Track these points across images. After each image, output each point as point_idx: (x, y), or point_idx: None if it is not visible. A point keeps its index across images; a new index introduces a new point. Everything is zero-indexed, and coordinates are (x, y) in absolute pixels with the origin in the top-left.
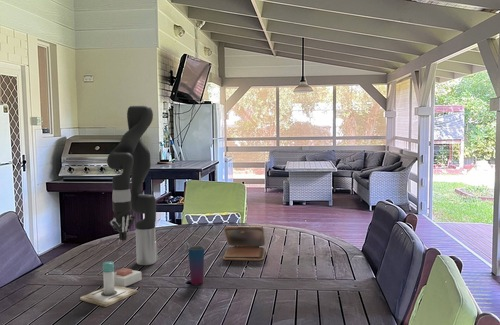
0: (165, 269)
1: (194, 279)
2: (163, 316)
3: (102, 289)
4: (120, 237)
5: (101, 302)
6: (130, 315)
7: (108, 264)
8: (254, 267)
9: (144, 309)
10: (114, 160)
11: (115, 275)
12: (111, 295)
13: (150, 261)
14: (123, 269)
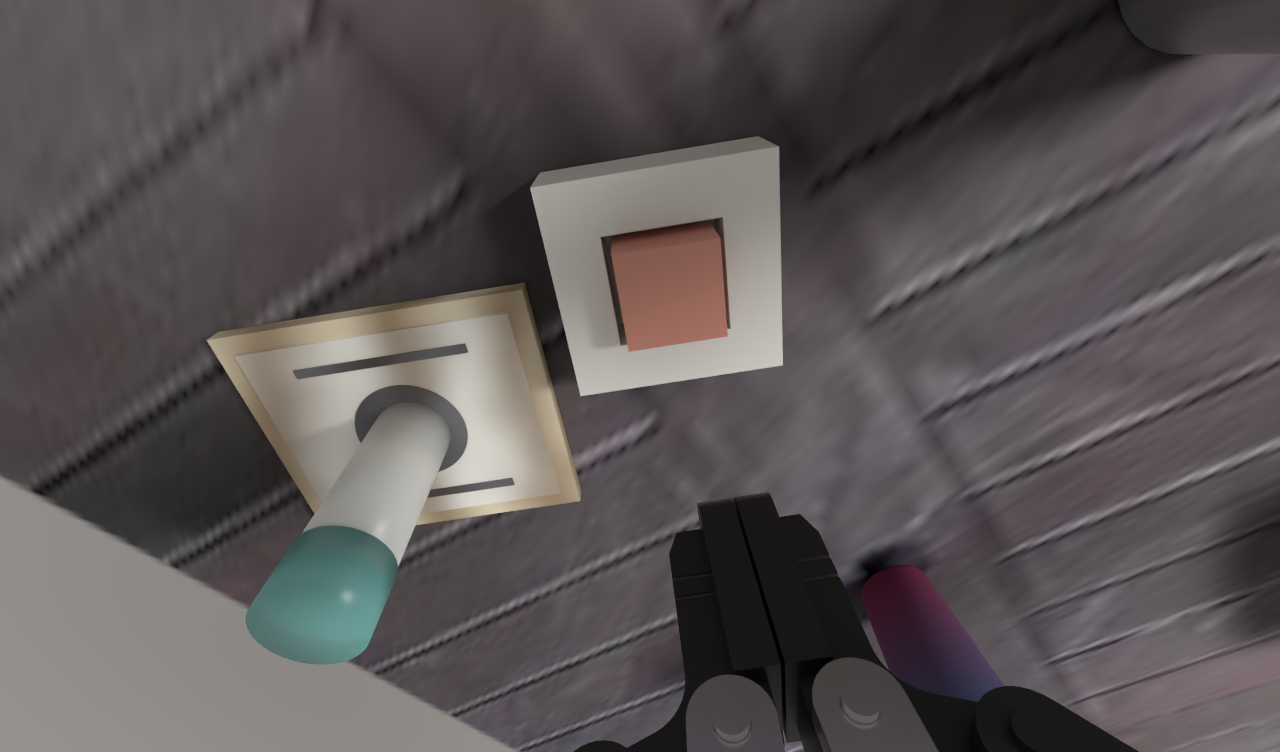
0: (1055, 286)
1: (871, 624)
2: (503, 716)
3: (403, 340)
4: (683, 586)
5: (316, 503)
6: (400, 650)
7: (297, 656)
8: (1224, 629)
9: (482, 644)
10: None
11: (579, 269)
12: None
13: (1189, 50)
14: (678, 278)
